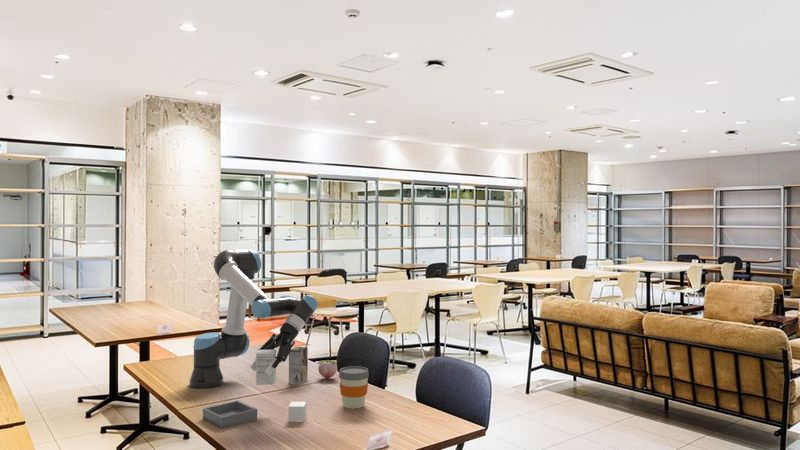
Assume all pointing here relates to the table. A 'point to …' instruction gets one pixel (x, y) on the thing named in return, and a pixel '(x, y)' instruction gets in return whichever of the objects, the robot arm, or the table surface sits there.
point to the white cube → (297, 412)
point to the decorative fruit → (327, 368)
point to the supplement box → (265, 367)
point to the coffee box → (298, 365)
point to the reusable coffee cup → (353, 386)
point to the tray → (229, 414)
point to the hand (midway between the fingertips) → (259, 371)
